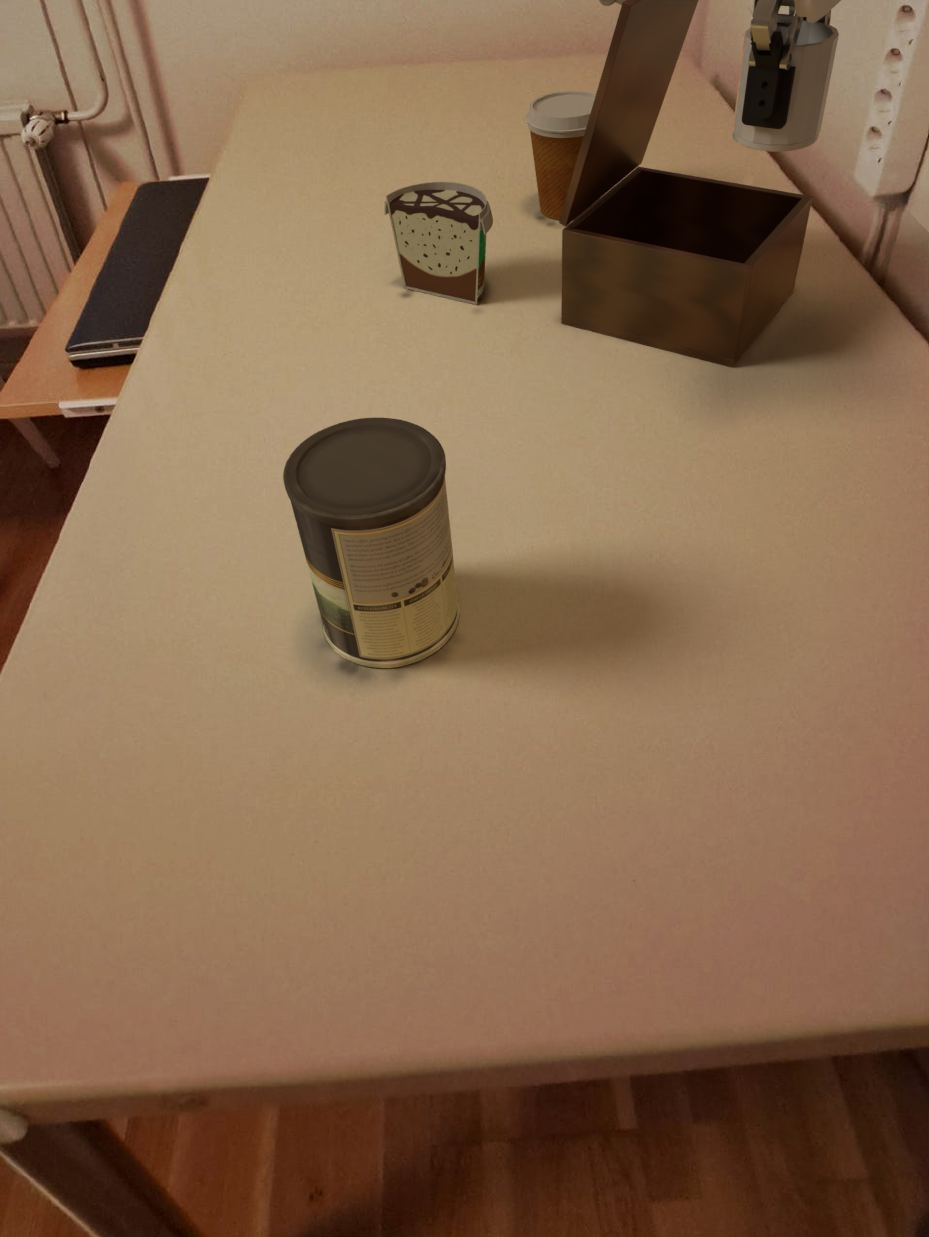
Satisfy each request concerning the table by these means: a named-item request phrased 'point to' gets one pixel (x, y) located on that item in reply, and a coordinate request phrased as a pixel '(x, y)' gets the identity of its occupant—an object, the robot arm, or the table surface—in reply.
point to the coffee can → (376, 538)
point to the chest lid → (628, 96)
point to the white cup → (793, 91)
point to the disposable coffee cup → (557, 143)
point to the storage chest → (683, 262)
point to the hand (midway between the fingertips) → (780, 106)
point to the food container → (441, 238)
